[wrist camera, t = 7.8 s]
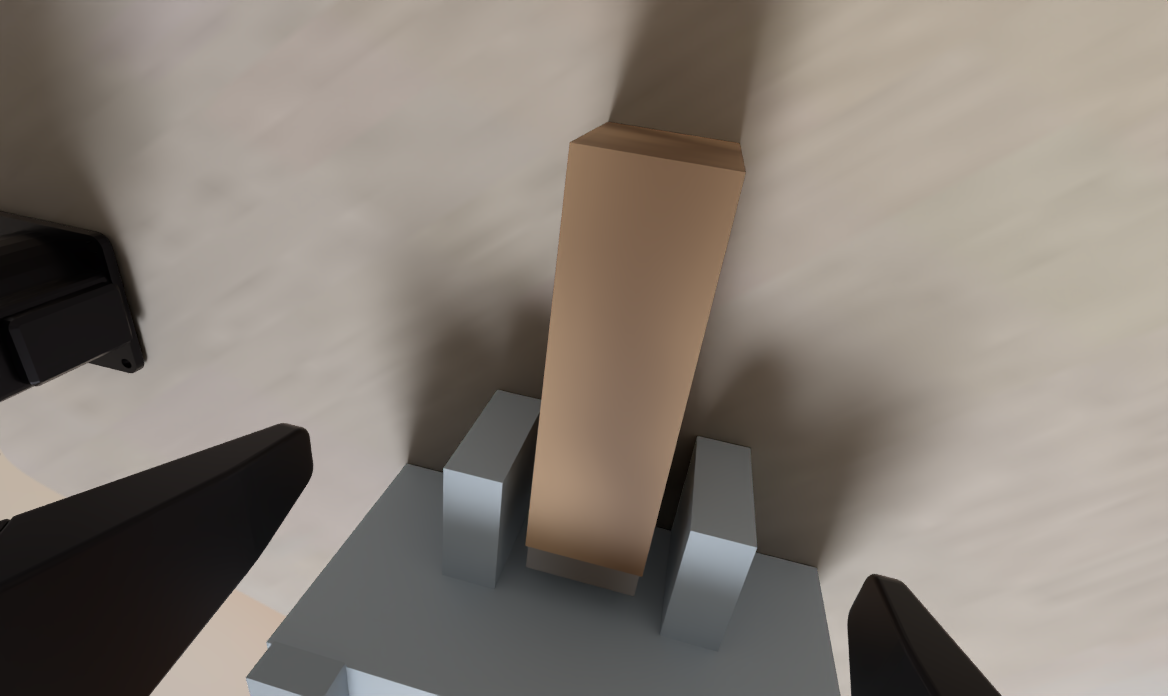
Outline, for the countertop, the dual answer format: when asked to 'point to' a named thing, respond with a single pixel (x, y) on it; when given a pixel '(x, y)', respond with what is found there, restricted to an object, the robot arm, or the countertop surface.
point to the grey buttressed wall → (549, 594)
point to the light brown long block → (624, 341)
